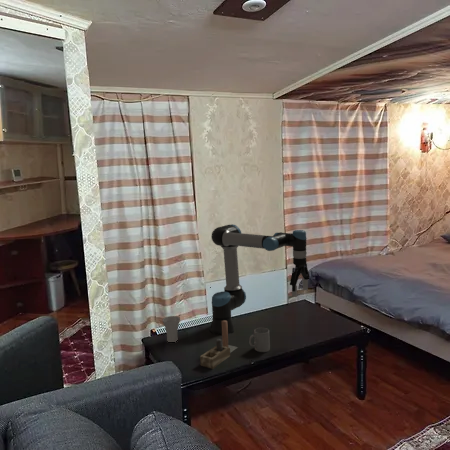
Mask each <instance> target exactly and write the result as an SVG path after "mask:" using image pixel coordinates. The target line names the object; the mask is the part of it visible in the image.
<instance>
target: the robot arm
mask: <svg viewBox="0 0 450 450" xmlns="http://www.w3.org/2000/svg"><path fill="white" fill-rule="evenodd" d="M307 239H308V238H307V231H305V230H303V229H295V230H293V231H292V233H291V232H290V233H289V232H275V233H274V234H273V235H263V234H253V233H242V230H241V229H240V227H239V226H237V225H236V224H232V223H231V224H226V225H223V226H218V227H216V228H214V229H213V230H212V232H211V241H212V243H214V245H216V246H219V247H221V248H222V249H223V260H224V261H223V262H224V274H225V284H226V285H225V286H224V287H223V289H224V290H223V291H218V292H215V293H213V295H212V296H211V306H212V307H211V312H212V321H211V324H210V333H211V334H213V335H218V336H219V335H220V336H222V321H224V320H226V321H227V325H228V335H229V334H232V333H234V332H235V324H234V322H233V319H232V311H234V310H235V309H237V308H240V307H242V305H244V304H245V302H246V300H247V295H246V292H245V291H244V288H243V286H242V285H241V284H240V276H239V275H240V273H239V260H238V247H244V248H255V249H264V250H265V251H267V252H273V251H275V250H277V249H279V248H283V247H291V248H292V263H293V265H294V266H295V267H292V268H291V269H292V272H291V275H290V281H289V286H291V297H295V298H297V297H298V286H297V283H298V281H299V277H300V276H302V278H303V279H302V290H303V291H305V292H306V291H308V289H309V287H308V286H309V285H308V283H309V282H308V281H309V280H310V273H309V270H308V263H307V254H308V253H307Z"/></svg>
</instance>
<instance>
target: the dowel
mask: <svg viewBox="0 0 450 450" xmlns="http://www.w3.org/2000/svg"><path fill="white" fill-rule="evenodd" d="M221 339H222V344H223V346H225V347H228V345H229V334H228V325H227V321H226V320H224V321H222V335H221Z"/></svg>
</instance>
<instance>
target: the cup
mask: <svg viewBox="0 0 450 450" xmlns="http://www.w3.org/2000/svg"><path fill="white" fill-rule="evenodd" d="M180 321H181V317H179V316H176V315H170V316H169V315H168V316H166V317H164V318H162V324H163V326H164V328H165V331H166V337H167V338H166V342H167V341H168V342H175V343H177V342H178V341H179V339H178V331H179V325H180ZM177 340H178V341H177ZM176 341H177V342H176ZM168 342H167V343H168Z"/></svg>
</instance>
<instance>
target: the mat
mask: <svg viewBox="0 0 450 450" xmlns="http://www.w3.org/2000/svg"><path fill="white" fill-rule="evenodd" d="M222 346H223V343H222ZM228 347H229V348H230V354H231V353H232V352H233V351H235V350H236V349H238V348H239V347H237V346H234V345H230V344H228Z"/></svg>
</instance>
